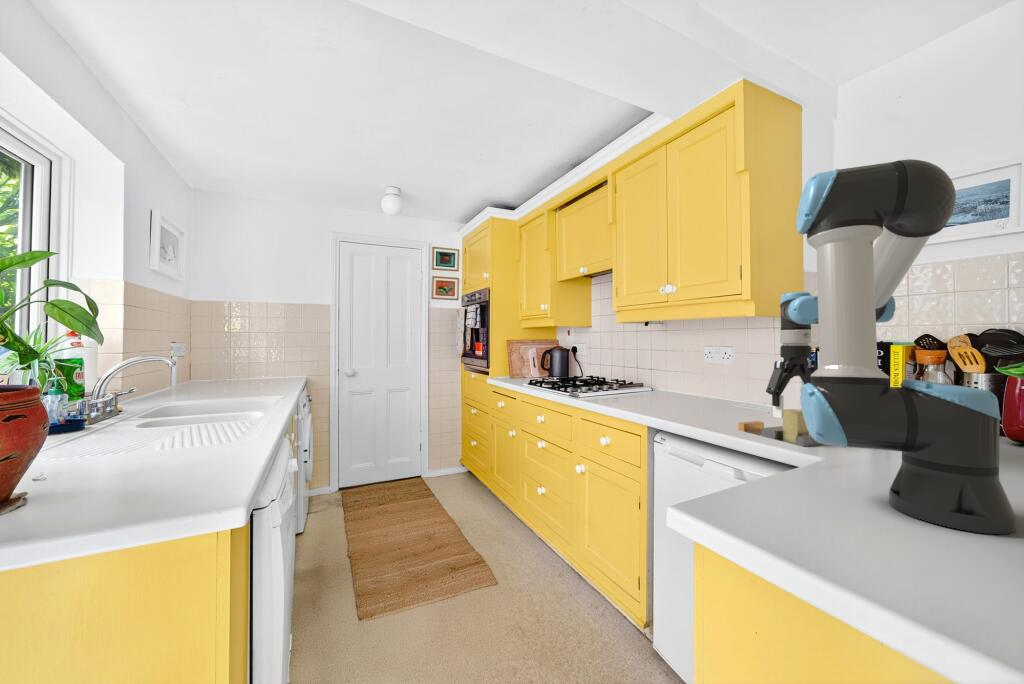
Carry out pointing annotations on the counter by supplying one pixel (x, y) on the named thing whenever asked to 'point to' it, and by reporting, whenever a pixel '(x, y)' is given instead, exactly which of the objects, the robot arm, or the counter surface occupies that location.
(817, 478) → the counter surface
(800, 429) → the brass block
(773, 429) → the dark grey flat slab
